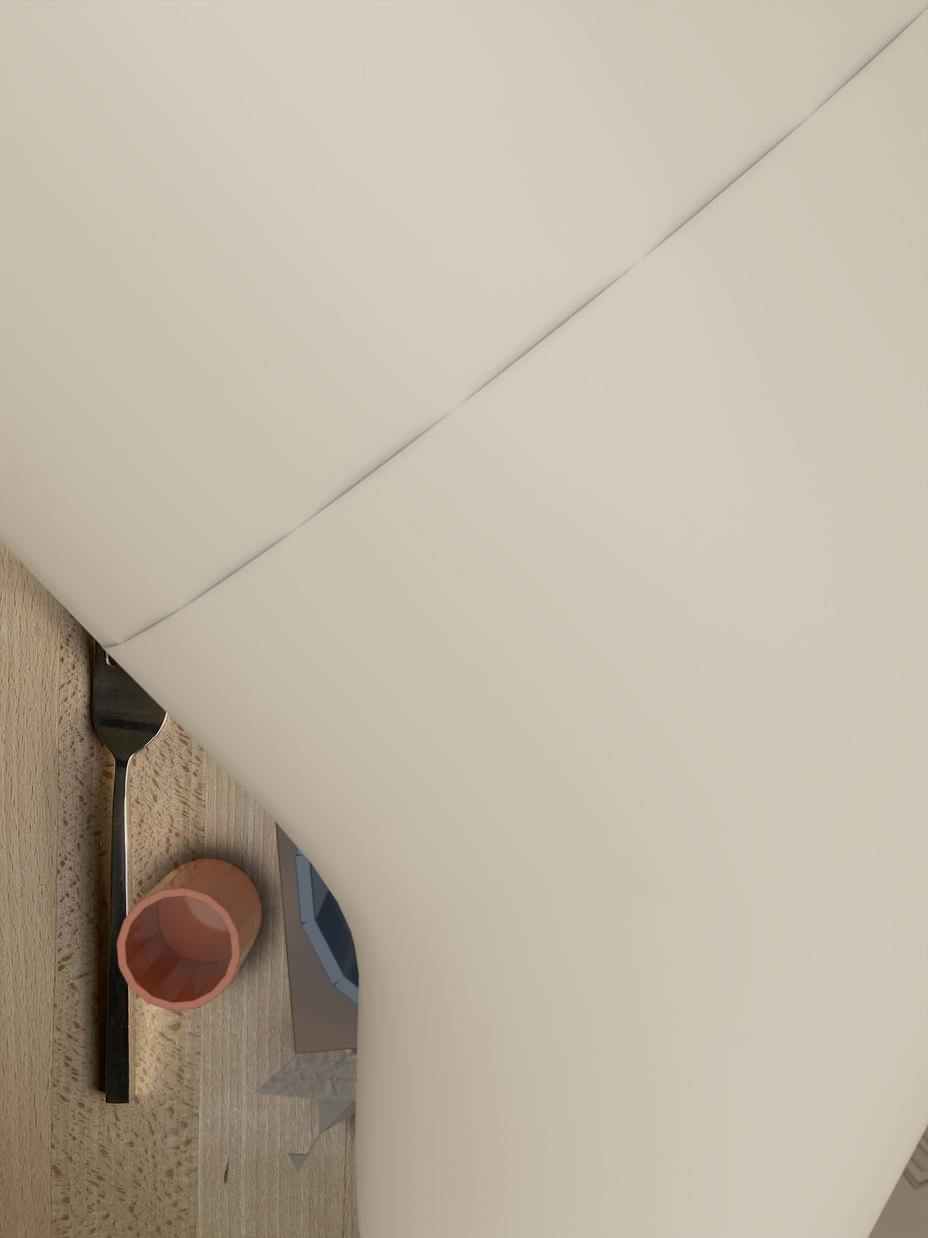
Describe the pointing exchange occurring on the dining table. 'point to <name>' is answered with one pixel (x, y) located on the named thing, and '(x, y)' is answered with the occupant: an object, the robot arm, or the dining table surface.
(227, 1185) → the dining table surface
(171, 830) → the dining table surface
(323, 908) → the bowl
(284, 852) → the stand
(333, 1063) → the grey origami bird
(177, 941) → the cup
